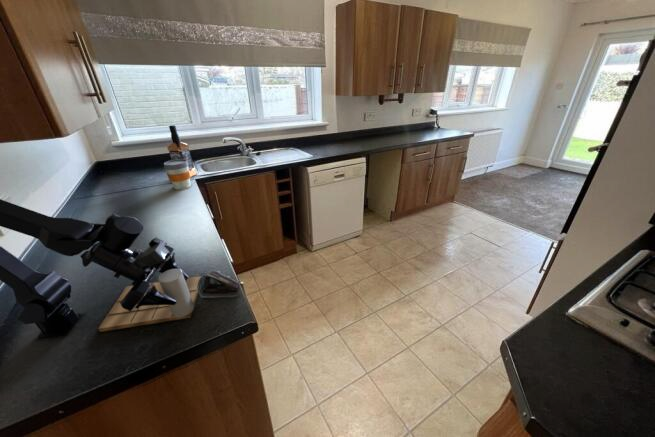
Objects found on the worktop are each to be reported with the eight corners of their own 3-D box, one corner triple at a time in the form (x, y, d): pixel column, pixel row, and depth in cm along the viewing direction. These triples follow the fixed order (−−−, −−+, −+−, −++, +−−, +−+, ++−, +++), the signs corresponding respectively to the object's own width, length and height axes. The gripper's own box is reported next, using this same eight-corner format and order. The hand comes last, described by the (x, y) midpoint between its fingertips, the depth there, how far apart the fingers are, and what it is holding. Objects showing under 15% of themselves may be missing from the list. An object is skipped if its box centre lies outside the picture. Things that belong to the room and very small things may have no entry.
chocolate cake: (248, 281, 85) (218, 256, 83) (241, 291, 78) (209, 264, 77) (228, 301, 86) (199, 277, 85) (220, 313, 80) (188, 286, 78)
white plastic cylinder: (167, 314, 72) (153, 279, 66) (184, 300, 76) (171, 266, 71) (182, 320, 70) (168, 284, 64) (198, 305, 74) (186, 271, 69)
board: (99, 332, 69) (97, 328, 68) (127, 289, 83) (126, 286, 82) (190, 317, 72) (189, 314, 72) (203, 278, 86) (202, 275, 86)
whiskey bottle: (174, 177, 176) (159, 126, 161) (184, 172, 184) (170, 124, 169) (188, 178, 174) (173, 127, 159) (197, 173, 182) (185, 124, 167)
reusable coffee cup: (168, 186, 161) (160, 162, 154) (189, 181, 169) (183, 157, 162) (174, 192, 153) (166, 166, 146) (196, 186, 160) (190, 161, 153)
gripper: (114, 262, 53) (187, 297, 60) (155, 218, 70) (208, 249, 76) (89, 296, 56) (161, 326, 63) (133, 246, 73) (187, 274, 79)
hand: (182, 290), depth 70 cm, fingers open, 9 cm apart
